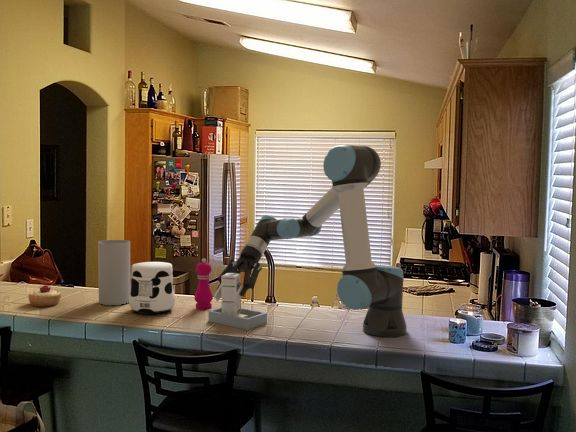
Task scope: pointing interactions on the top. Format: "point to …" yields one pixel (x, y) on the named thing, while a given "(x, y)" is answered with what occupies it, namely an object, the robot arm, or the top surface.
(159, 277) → the milk container
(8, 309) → the top surface
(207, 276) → the pepper mill
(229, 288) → the syrup box
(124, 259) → the cylinder vase
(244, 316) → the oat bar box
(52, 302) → the pastry
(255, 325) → the tray
